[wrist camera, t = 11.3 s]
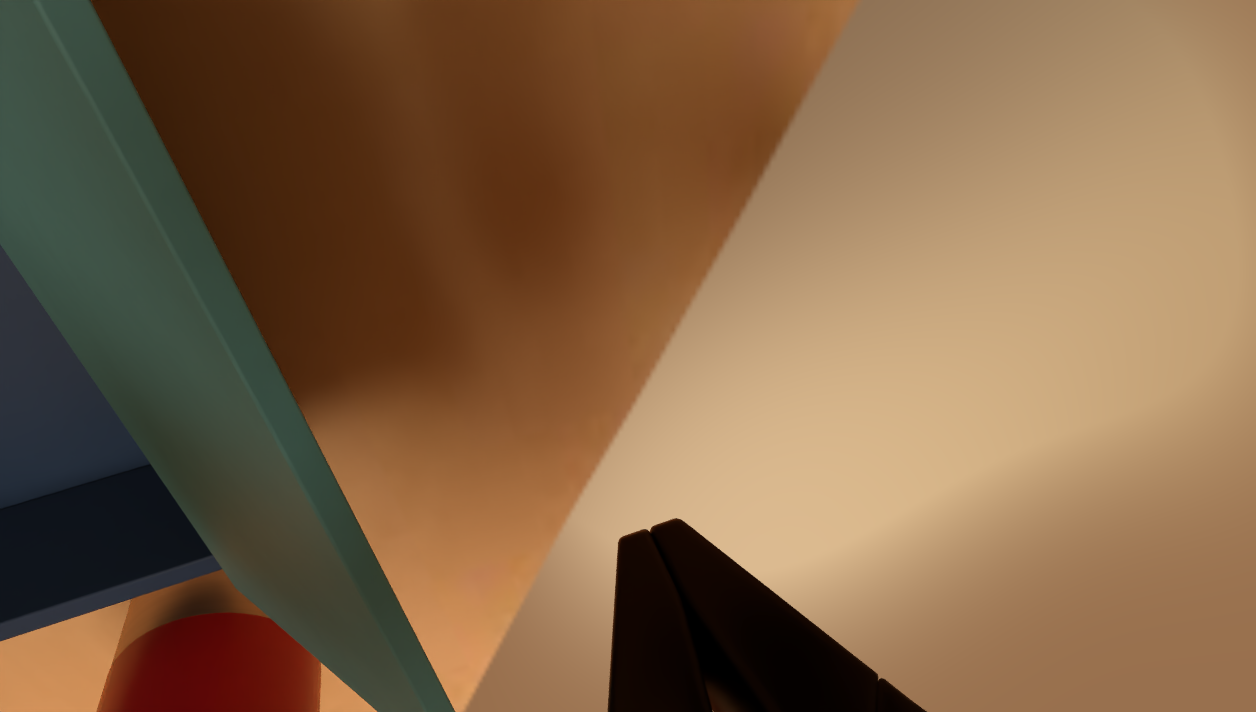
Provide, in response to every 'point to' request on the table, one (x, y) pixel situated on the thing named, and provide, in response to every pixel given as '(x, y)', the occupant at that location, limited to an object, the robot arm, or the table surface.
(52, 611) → the dark blue open box
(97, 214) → the lid
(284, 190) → the table surface
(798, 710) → the robot arm
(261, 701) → the can
